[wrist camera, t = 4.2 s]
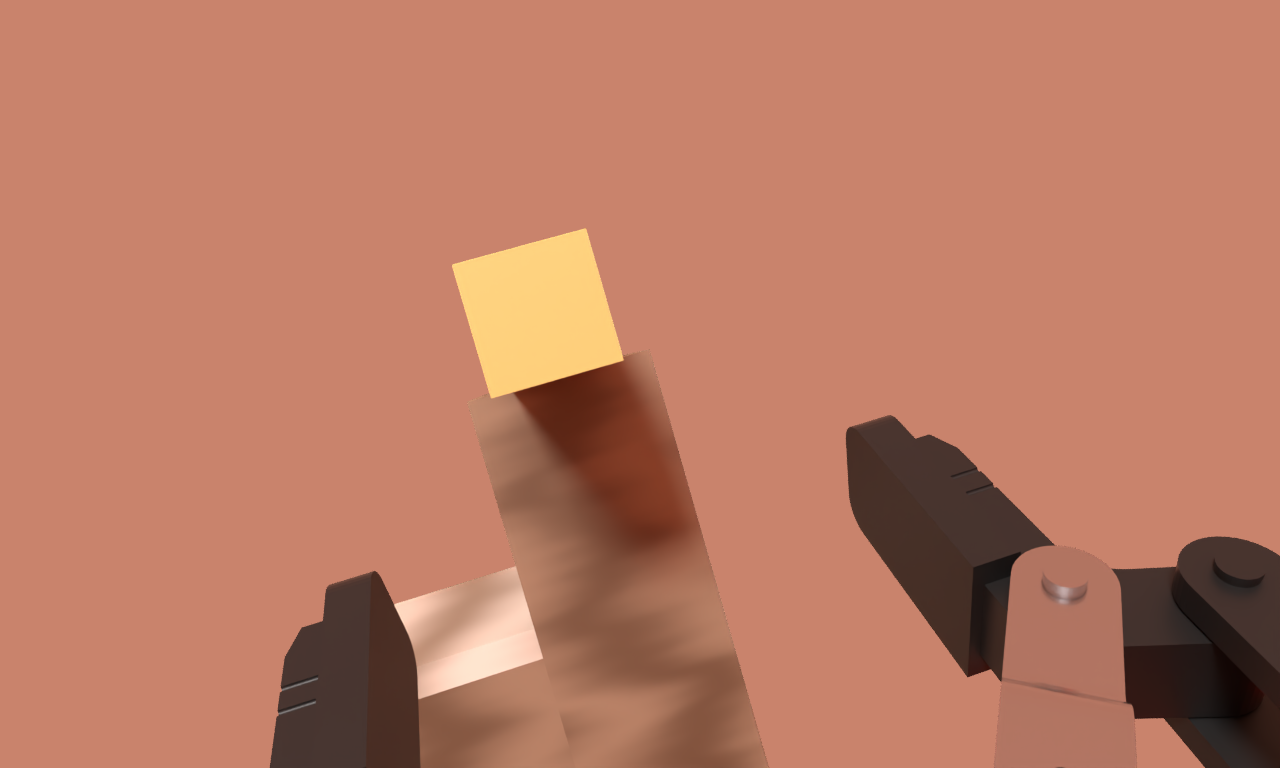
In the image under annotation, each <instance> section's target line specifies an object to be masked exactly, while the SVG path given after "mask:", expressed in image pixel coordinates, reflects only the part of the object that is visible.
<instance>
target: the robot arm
mask: <svg viewBox="0 0 1280 768" xmlns="http://www.w3.org/2000/svg"><path fill="white" fill-rule="evenodd" d="M846 448H847V465H848V484H849V498H850V503H851V507H852V510H853V514H854V516H855V519H856V521H857V523H858V525H859V527H860V529H861V530H862V532H863V533H864V535H865V536H866V538H867V539H868V540H869V542H870V543H871V544H872V546H873V547H874V549H875V550H876V551H877V553H878V554H879V555H880V557H881V558H882V560H883V561H884V562H885V564H886V565H887V567H888V568H889V569H890V571H891V572H892V573H893V575H894V576H895V578H896V579H897V580H898V582H899V583H900V584H901V586H902V587H903V589H904V590H905V591H906V593H907V594H908V595H909V597H910V598H911V600H912V601H913V602H914V604H915V605H916V607H917V608H918V609H919V611H920V612H921V613H922V615H923V616H924V617H925V619H926V620H927V621H928V623H929V625H930V626H931V627H932V629H933V630H934V631H935V633H936V634H937V635H938V637H939V638H940V640H941V641H942V642H943V644H944V645H945V647H946V648H947V649H948V650H949V652H950V654H951V655H952V656H953V658H954V659H955V660H956V662H957V663H958V664H959V666H960V667H961V669H962V670H963V671H964V673H965V674H966V676H967V677H970V676H972V675H975V674H978V673H981V672H984V671H987V670H989V669H991V670H992V671H993V672H994V673H995V675H996V676H997V677H998V679H999V680H1000V681H1001V692H1000V704H999V715H998V726H997V738H996V749H995V761H994V768H1137V756H1136V736H1135V719H1143V718H1164V719H1165V720H1166V721H1167V722H1168V724H1169V725H1170V726H1171V727H1172V729H1173V730H1174V731H1175V732H1176V733H1177V734H1178V736H1179V737H1180V738H1181V739H1182V740H1183V742H1184V743H1185V744H1186V745H1187V746H1188V747H1189V749H1190V750H1191V751H1192V752H1193V754H1194V755H1195V756H1196V757H1197V758H1198V759H1199V761H1200V762H1201V763H1202V764H1203V766H1204V767H1205V768H1280V556H1279V555H1278V554H1276V553H1274V552H1273V551H1271V550H1269V549H1267V548H1265V547H1263V546H1261V545H1258V544H1256V543H1253V542H1250V541H1247V540H1242V539H1238V538H1230V537H1207V538H1202V539H1198V540H1196V541H1193V542H1191V543H1190V544H1188V545H1186V546H1185V547H1184V548H1183V549H1182V551H1181V552H1180V554H1179V558H1178V562H1177V566H1176V567H1166V568H1146V569H1145V568H1144V569H1111V568H1110V567H1109V566H1108V565H1107V564H1106V563H1104V562H1103V561H1102V560H1100V559H1098V558H1097V557H1095V556H1094V555H1092V554H1090V553H1087V552H1085V551H1082V550H1079V549H1076V548H1071V547H1066V546H1055V545H1054V544H1053V543H1052V542H1051V541H1050V540H1049V539H1048V538H1047V537H1046V536H1045V535H1044V534H1043V533H1042V532H1041V531H1040V530H1039V529H1038V528H1037V527H1036V526H1035V525H1034V524H1033V523H1032V522H1031V521H1030V520H1029V519H1028V518H1027V517H1026V516H1025V515H1024V514H1023V513H1022V512H1021V511H1020V510H1019V509H1018V508H1017V507H1016V506H1015V505H1014V504H1013V503H1012V502H1011V501H1010V500H1009V499H1008V498H1007V497H1006V496H1005V495H1004V494H1003V493H1002V492H1001V491H1000V490H999V489H998V488H997V487H996V488H994V486H993V483H992V482H991V481H990V480H989V479H988V478H987V477H986V476H985V475H984V474H983V473H982V472H981V471H980V472H979V471H978V470H977V467H976V466H975V465H974V464H973V463H972V462H971V461H970V460H969V459H968V458H967V457H966V456H965V455H964V454H963V453H962V452H961V451H960V450H959V449H958V448H957V447H954V446H952V445H950V444H948V443H946V442H944V441H942V440H940V439H938V438H935V437H934V436H932V435H926V436H923V437H920V438H917V439H915V438H914V437H913V436H912V435H911V434H910V433H909V432H908V431H907V430H906V428H905V427H904V426H903V425H902V424H901V423H900V422H899V421H898V420H897V419H896V418H895V417H893V416H891V415H889V416H885V417H882V418H879V419H875V420H872V421H869V422H866V423H863V424H859V425H856V426H852V427H850V428H848V430H847V432H846ZM281 688H282V692H280V696H279V704H278V713H279V716H277V718H276V726H275V733H274V741H273V748H272V755H271V763H270V768H421V764H420V735H419V706H418V677H417V665H416V659H415V654H414V650H413V647H412V643H411V640H410V638H409V635H408V633H407V631H406V629H405V626H404V624H403V622H402V620H401V618H400V616H399V614H398V612H397V610H396V608H395V606H394V604H393V602H392V600H391V597H390V595H389V593H388V591H387V589H386V587H385V585H384V583H383V581H382V579H381V577H380V576H379V574H378V573H377V572H376V571H373V572H370V573H367V574H363V575H360V576H357V577H354V578H350V579H347V580H344V581H341V582H337V583H334V584H331V585H329V586H328V587H327V589H326V594H325V606H324V617H323V621H322V622H319V623H316V624H313V625H309V626H306V627H303V628H301V630H300V632H299V633H298V635H297V637H296V639H295V641H294V642H293V644H292V646H291V648H290V649H289V651H288V653H287V654H286V656H285V660H284V668H283V674H282V682H281Z"/></svg>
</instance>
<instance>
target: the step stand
mask: <svg viewBox="0 0 1280 768" xmlns="http://www.w3.org/2000/svg"><path fill="white" fill-rule="evenodd" d="M623 359H624V360H623V361H620V362H617V363H613V364H610V365H606V366H603V367H599V368H596V369H592V370H589V371H585V372H582V373H578V374H575V375H571V376H568V377H564V378H561V379H557V380H554V381H551V382H547V383H544V384H540V385H537V386H533V387H530V388H526V389H523V390H519V391H516V392H512V393H509V394H505V395H502V396H498V397H495V398H491V396H490V393H489V394H486V395H484V396H481V397H478V398H476V399H473V400H471V401H468V402H467V403H468V407H469V410H470V413H471V417H472V420H473V423H474V427H475V430H476V434H477V437H478V440H479V444H480V447H481V450H482V454H483V457H484V460H485V464H486V467H487V471H488V474H489V477H490V481H491V484H492V487H493V491H494V494H495V498H496V500H497V504H498V508H499V511H500V515H501V518H502V521H503V524H504V528H505V531H506V535H507V538H508V542H509V544H510V548H511V552H512V555H513V558H514V562H515V565H516V567H513V568H510V569H506V570H503V571H500V572H497V573H493V574H490V575H487V576H484V577H481V578H477V579H474V580H471V581H468V582H465V583H461V584H458V585H455V586H452V587H448V588H446V589H442V590H439V591H436V592H432V593H429V594H426V595H423V596H420V597H416V598H414V599H410V600H407V601H404V602H400V603H397V604H394V606H395V608H396V610H397V612H398V614H399V616H400V618H401V620H402V622H403V624H404V626H405V629H406V631H407V633H408V635H409V638H410V640H411V643H412V647H413V650H414V654H415V659H416V665H417V677H418V706H419V735H420V764H421V768H769V767H768V763H767V760H766V756H765V753H764V749H763V746H762V742H761V739H760V735H759V732H758V728H757V725H756V721H755V718H754V714H753V711H752V707H751V704H750V700H749V697H748V693H747V690H746V686H745V683H744V679H743V676H742V672H741V669H740V665H739V662H738V658H737V655H736V651H735V648H734V644H733V641H732V637H731V634H730V630H729V627H728V623H727V620H726V616H725V612H724V609H723V606H722V602H721V599H720V595H719V592H718V588H717V584H716V581H715V578H714V574H713V570H712V567H711V563H710V560H709V556H708V553H707V549H706V546H705V543H704V539H703V535H702V532H701V528H700V525H699V522H698V518H697V515H696V511H695V508H694V504H693V501H692V497H691V493H690V490H689V487H688V483H687V479H686V476H685V473H684V469H683V465H682V462H681V459H680V455H679V451H678V448H677V444H676V441H675V438H674V434H673V430H672V427H671V423H670V420H669V416H668V413H667V409H666V406H665V402H664V399H663V396H662V392H661V388H660V385H659V381H658V378H657V374H656V371H655V368H654V364H653V360H652V357H651V353H650V350H646V351H641V352H637V353H632V354H627V355H623Z"/></svg>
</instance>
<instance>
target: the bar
mask: <svg viewBox="0 0 1280 768" xmlns="http://www.w3.org/2000/svg"><path fill="white" fill-rule="evenodd" d="M452 267H453V270H454V274H455V277H456V281H457V284H458V287H459V291H460V294H461V298H462V301H463V305H464V308H465V311H466V315H467V318H468V322H469V325H470V328H471V332H472V335H473V338H474V342H475V345H476V349H477V352H478V355H479V359H480V362H481V365H482V369H483V372H484V376H485V379H486V382H487V386H488V389H489V393H490V396H491V398H495V397H498V396H502V395H505V394H509V393H512V392H516V391H519V390H523V389H526V388H530V387H533V386H537V385H540V384H544V383H547V382H551V381H554V380H557V379H561V378H564V377H568V376H571V375H575V374H578V373H582V372H585V371H589V370H592V369H596V368H599V367H603V366H606V365H610V364H613V363H617V362H620V361H623V360H624V359H623V356H622V352H621V349H620V345H619V342H618V338H617V335H616V331H615V328H614V325H613V321H612V318H611V314H610V310H609V307H608V303H607V300H606V297H605V293H604V290H603V286H602V283H601V279H600V276H599V272H598V269H597V265H596V262H595V258H594V255H593V251H592V248H591V244H590V241H589V237H588V234H587V231H586V228H585V229H581V230H578V231H574V232H570V233H567V234H563V235H559V236H556V237H552V238H548V239H545V240H541V241H537V242H533V243H530V244H526V245H522V246H519V247H515V248H512V249H508V250H504V251H501V252H497V253H493V254H489V255H486V256H482V257H479V258H475V259H471V260H467V261H464V262H460V263H456V264H453V265H452Z"/></svg>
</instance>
